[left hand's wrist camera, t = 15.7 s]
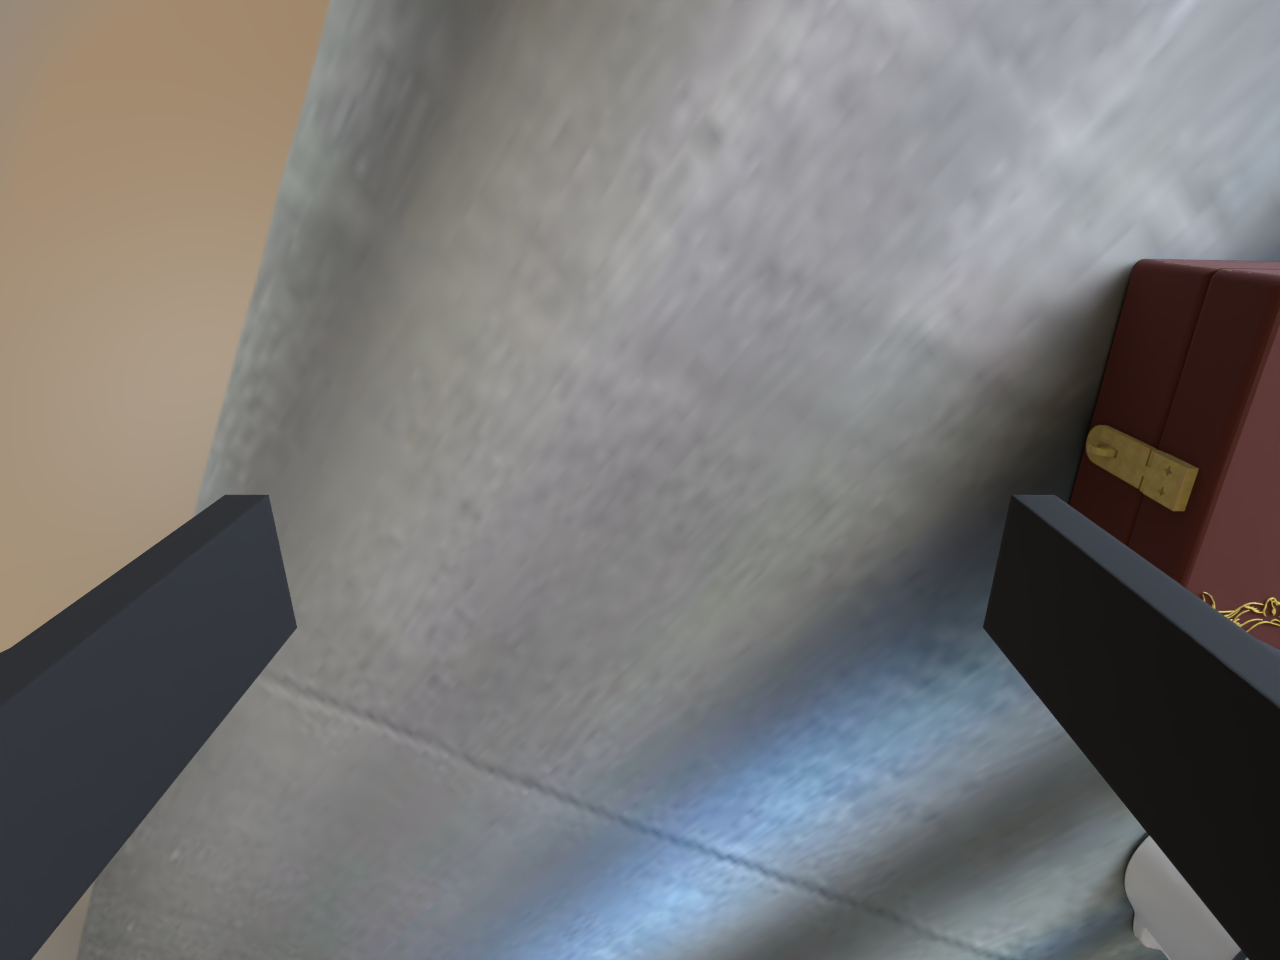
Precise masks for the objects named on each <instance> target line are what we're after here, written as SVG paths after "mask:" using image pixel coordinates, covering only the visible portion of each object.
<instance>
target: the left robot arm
mask: <svg viewBox="0 0 1280 960" xmlns="http://www.w3.org/2000/svg"><path fill="white" fill-rule="evenodd" d="M296 628H297V625H296V621H295V616H294V611H293V607H292V602H291V597H290V593H289V588H288V583H287V579H286V574H285V569H284V565H283V560H282V555H281V551H280V546H279V541H278V537H277V532H276V527H275V523H274V518H273V513H272V509H271V504H270V499H269V495H224V496H223V497H222V498H220V499H219V500H217V501H216V502H215V503H213V504H212V505H210V506H209V507H208V508H206V509H205V510H203V511H202V512H201V513H199V514H198V515H196V516H195V517H194V518H192V519H191V520H189V521H188V522H187V523H185V524H184V525H182V526H181V527H180V528H178V529H177V530H175V531H174V532H172V533H171V534H170V535H168V536H167V537H165V538H164V539H163V540H161V541H160V542H159V543H157V544H156V545H154V546H153V547H151V548H150V549H149V550H147V551H146V552H144V553H143V554H142V555H140V556H139V557H137V558H136V559H135V560H133V561H132V562H130V563H129V564H128V565H126V566H125V567H123V568H122V569H121V570H119V571H118V572H116V573H115V574H114V575H112V576H111V577H109V578H108V579H107V580H105V581H104V582H102V583H101V584H100V585H98V586H97V587H95V588H94V589H93V590H91V591H90V592H88V593H87V594H86V595H84V596H83V597H81V598H80V599H79V600H77V601H76V602H74V603H73V604H72V605H70V606H69V607H67V608H66V609H65V610H63V611H62V612H60V613H59V614H58V615H56V616H55V617H53V618H52V619H50V620H49V621H48V622H46V623H45V624H43V625H42V626H41V627H39V628H38V629H37V630H35V631H34V632H32V633H31V634H29V635H28V636H27V637H25V638H24V639H22V640H21V641H20V642H18V643H17V644H15V645H14V646H13V647H11V648H9V649H7V650H5V651H3V652H1V653H0V960H31V959H32V958H33V957H34V955H35V954H36V953H37V952H38V950H39V949H40V948H41V947H42V945H43V944H44V943H45V942H46V940H47V939H48V938H49V937H50V935H51V934H52V933H53V931H54V930H55V929H56V928H57V927H58V925H59V924H60V923H61V922H62V920H63V919H64V918H65V917H66V915H67V914H68V913H69V912H70V910H71V909H72V908H73V907H74V905H75V904H76V903H77V902H78V900H79V899H80V898H81V897H82V895H83V894H84V893H85V892H86V890H87V889H88V888H89V887H90V885H91V884H92V883H93V882H94V880H95V879H96V878H97V877H98V875H99V874H100V873H101V872H102V870H103V869H104V868H105V867H106V865H107V864H108V863H109V862H110V860H111V859H112V858H113V857H114V855H115V854H116V853H117V852H118V850H119V849H120V848H121V847H122V845H123V844H124V843H125V842H126V840H127V839H128V838H129V837H130V835H131V834H132V833H133V832H134V830H135V829H136V828H137V827H138V825H139V824H140V823H141V822H142V820H143V819H144V818H145V817H146V815H147V814H148V813H149V812H150V810H151V809H152V808H153V807H154V805H155V804H156V803H157V802H158V800H159V799H160V798H161V797H162V795H163V794H164V793H165V792H166V790H167V789H168V788H169V787H170V785H171V784H172V783H173V782H174V780H175V779H176V778H177V777H178V775H179V774H180V773H181V772H182V770H183V769H184V768H185V767H186V765H187V764H188V763H189V762H190V760H191V759H192V758H193V757H194V755H195V754H196V753H197V752H198V750H199V749H200V748H201V747H202V746H203V744H204V743H205V742H206V741H207V739H208V738H209V737H210V736H211V734H212V733H213V732H214V731H215V729H216V728H217V727H218V726H219V724H220V723H221V722H222V721H223V719H224V718H225V717H226V716H227V714H228V713H229V712H230V711H231V709H232V708H233V707H234V706H235V704H236V703H237V702H238V701H239V699H240V698H241V697H242V696H243V694H244V693H245V692H246V691H247V689H248V688H249V687H250V686H251V684H252V683H253V682H254V681H255V679H256V678H257V677H258V676H259V674H260V673H261V672H262V671H263V669H264V668H265V667H266V666H267V664H268V663H269V662H270V661H271V659H272V658H273V657H274V656H275V654H276V653H277V652H278V651H279V649H280V648H281V647H282V646H283V644H284V643H285V642H286V641H287V639H288V638H289V637H290V636H291V634H292V633H293V632H294V631H295V629H296ZM983 628H984V629H985V631H986V632H987V633H988V634H989V636H990V637H991V638H992V639H993V641H994V642H995V643H996V644H997V646H998V647H999V648H1000V649H1001V651H1002V652H1003V653H1004V654H1005V656H1006V657H1007V658H1008V659H1009V661H1010V662H1011V663H1012V664H1013V666H1014V667H1015V668H1016V669H1017V671H1018V672H1019V673H1020V674H1021V676H1022V677H1023V678H1024V679H1025V681H1026V682H1027V683H1028V684H1029V686H1030V687H1031V688H1032V689H1033V691H1034V692H1035V693H1036V694H1037V696H1038V697H1039V698H1040V699H1041V701H1042V702H1043V703H1044V704H1045V706H1046V707H1047V708H1048V709H1049V711H1050V712H1051V713H1052V714H1053V716H1054V717H1055V718H1056V719H1057V721H1058V722H1059V723H1060V724H1061V726H1062V727H1063V728H1064V729H1065V731H1066V732H1067V733H1068V734H1069V736H1070V737H1071V738H1072V739H1073V741H1074V742H1075V743H1076V744H1077V746H1078V747H1079V748H1080V749H1081V750H1082V752H1083V753H1084V754H1085V755H1086V757H1087V758H1088V759H1089V760H1090V762H1091V763H1092V764H1093V765H1094V767H1095V768H1096V769H1097V770H1098V772H1099V773H1100V774H1101V775H1102V777H1103V778H1104V779H1105V780H1106V782H1107V783H1108V784H1109V785H1110V787H1111V788H1112V789H1113V790H1114V792H1115V793H1116V794H1117V795H1118V797H1119V798H1120V799H1121V800H1122V802H1123V803H1124V804H1125V805H1126V807H1127V808H1128V809H1129V810H1130V812H1131V813H1132V814H1133V815H1134V817H1135V818H1136V819H1137V820H1138V822H1139V823H1140V824H1141V825H1142V827H1143V828H1144V829H1145V830H1146V832H1147V833H1148V834H1149V835H1150V837H1151V838H1152V839H1153V840H1154V842H1155V843H1156V844H1157V845H1158V847H1159V848H1160V849H1161V850H1162V852H1163V853H1164V854H1165V855H1166V857H1167V858H1168V859H1169V860H1170V862H1171V863H1172V864H1173V865H1174V867H1175V868H1176V869H1177V870H1178V872H1179V873H1180V874H1181V875H1182V877H1183V878H1184V879H1185V880H1186V882H1187V883H1188V884H1189V885H1190V887H1191V888H1192V889H1193V890H1194V892H1195V893H1196V894H1197V895H1198V897H1199V898H1200V899H1201V900H1202V902H1203V903H1204V904H1205V905H1206V907H1207V908H1208V909H1209V910H1210V912H1211V913H1212V914H1213V915H1214V917H1215V918H1216V919H1217V920H1218V922H1219V923H1220V924H1221V925H1222V927H1223V928H1224V929H1225V930H1226V932H1227V933H1228V934H1229V935H1230V937H1231V938H1232V939H1233V940H1234V942H1235V943H1236V944H1237V945H1238V947H1239V948H1240V949H1241V950H1242V952H1243V953H1244V954H1245V955H1246V957H1247V958H1248V959H1249V960H1280V650H1279V649H1277V648H1275V647H1273V646H1271V645H1269V644H1267V643H1264V642H1262V641H1260V640H1258V639H1256V638H1255V637H1253V636H1252V635H1251V634H1249V633H1248V632H1246V631H1245V630H1244V629H1242V628H1241V627H1239V626H1238V625H1237V624H1235V623H1234V622H1232V621H1231V620H1230V619H1228V618H1227V617H1225V616H1224V615H1223V614H1221V613H1220V612H1218V611H1217V610H1216V609H1214V608H1213V607H1211V606H1210V605H1208V604H1207V603H1206V602H1204V601H1203V600H1201V599H1200V598H1199V597H1197V596H1196V595H1194V594H1193V593H1192V592H1190V591H1189V590H1187V589H1186V588H1185V587H1183V586H1182V585H1180V584H1179V583H1178V582H1176V581H1175V580H1173V579H1172V578H1171V577H1169V576H1168V575H1166V574H1165V573H1164V572H1162V571H1161V570H1159V569H1158V568H1157V567H1155V566H1154V565H1152V564H1151V563H1150V562H1148V561H1147V560H1145V559H1144V558H1143V557H1141V556H1140V555H1138V554H1137V553H1136V552H1134V551H1133V550H1131V549H1130V548H1129V547H1127V546H1126V545H1124V544H1123V543H1122V542H1120V541H1119V540H1117V539H1116V538H1115V537H1113V536H1112V535H1110V534H1109V533H1108V532H1106V531H1105V530H1103V529H1102V528H1100V527H1099V526H1098V525H1096V524H1095V523H1093V522H1092V521H1091V520H1089V519H1088V518H1086V517H1085V516H1084V515H1082V514H1081V513H1079V512H1078V511H1077V510H1075V509H1074V508H1072V507H1071V506H1070V505H1068V504H1067V503H1065V502H1064V501H1063V500H1061V499H1060V498H1058V497H1057V496H1056V495H1011V499H1010V504H1009V509H1008V513H1007V518H1006V523H1005V527H1004V532H1003V537H1002V541H1001V546H1000V551H999V555H998V560H997V565H996V569H995V574H994V579H993V583H992V588H991V593H990V597H989V602H988V607H987V611H986V616H985V621H984V625H983Z"/></svg>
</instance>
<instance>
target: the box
mask: <svg viewBox="0 0 1280 960" xmlns="http://www.w3.org/2000/svg"><path fill="white" fill-rule="evenodd" d="M1069 505H1070V506H1071V507H1072V508H1074V509H1075V510H1077V511H1078V512H1079V513H1081V514H1082V515H1084V516H1085V517H1086V518H1088V519H1089V520H1091V521H1092V522H1093V523H1095V524H1096V525H1098V526H1099V527H1100V528H1102V529H1103V530H1105V531H1106V532H1108V533H1109V534H1110V535H1112V536H1113V537H1115V538H1116V539H1117V540H1119V541H1120V542H1122V543H1123V544H1124V545H1126V546H1127V547H1129V548H1130V549H1131V550H1133V551H1134V552H1136V553H1137V554H1138V555H1140V556H1141V557H1143V558H1144V559H1145V560H1147V561H1148V562H1150V563H1151V564H1152V565H1154V566H1155V567H1157V568H1158V569H1159V570H1161V571H1162V572H1164V573H1165V574H1166V575H1168V576H1169V577H1171V578H1172V579H1173V580H1175V581H1176V582H1178V583H1179V584H1180V585H1182V586H1183V587H1185V588H1186V589H1187V590H1189V591H1190V592H1192V593H1193V594H1194V595H1196V596H1197V597H1199V598H1200V599H1201V600H1203V601H1204V602H1206V603H1207V604H1208V605H1210V606H1211V607H1213V608H1214V609H1216V610H1217V611H1218V612H1220V613H1221V614H1223V615H1224V616H1225V617H1227V618H1228V619H1230V620H1231V621H1232V622H1234V623H1235V624H1237V625H1238V626H1239V627H1241V628H1242V629H1244V630H1245V631H1246V632H1248V633H1249V634H1251V635H1252V636H1253V637H1255V638H1256V639H1258V640H1260V641H1262V642H1264V643H1267V644H1269V645H1271V646H1273V647H1275V648H1277V649H1279V650H1280V262H1275V261H1225V260H1174V259H1142V260H1140V261H1138V262H1137V263H1136V264H1135V265H1134V267H1133V270H1132V274H1131V278H1130V281H1129V285H1128V289H1127V293H1126V296H1125V300H1124V304H1123V307H1122V311H1121V315H1120V319H1119V322H1118V326H1117V330H1116V333H1115V337H1114V341H1113V345H1112V348H1111V352H1110V356H1109V359H1108V363H1107V367H1106V371H1105V374H1104V378H1103V382H1102V385H1101V389H1100V393H1099V396H1098V400H1097V404H1096V408H1095V411H1094V415H1093V419H1092V422H1091V426H1090V430H1089V434H1088V437H1087V441H1086V445H1085V448H1084V452H1083V456H1082V460H1081V463H1080V467H1079V471H1078V474H1077V478H1076V482H1075V486H1074V489H1073V493H1072V497H1071V500H1070V504H1069Z"/></svg>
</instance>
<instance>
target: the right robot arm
mask: <svg viewBox="0 0 1280 960" xmlns="http://www.w3.org/2000/svg"><path fill="white" fill-rule="evenodd" d="M1124 883H1125V891H1126V895H1127V897H1128V899H1129V901H1130V903H1131V905H1132V907H1133V909H1134V912H1135V916H1134V922H1133V933H1134V935H1135V936H1136V937H1137V938H1138V940H1139V941H1140V942H1141V943H1142V944H1143V945H1144V946H1145V947H1148V948H1152V949H1159V950H1162V951H1163V953H1164V954H1165V955H1166V957H1167V958H1168V959H1169V960H1249V959H1248V958H1247V957H1246V955H1245V954H1244V953H1243V952H1242V950H1241V949H1240V948H1239V947H1238V945H1237V944H1236V943H1235V942H1234V940H1233V939H1232V938H1231V937H1230V935H1229V934H1228V933H1227V932H1226V930H1225V929H1224V928H1223V927H1222V925H1221V924H1220V923H1219V922H1218V920H1217V919H1216V918H1215V917H1214V915H1213V914H1212V913H1211V912H1210V910H1209V909H1208V908H1207V907H1206V905H1205V904H1204V903H1203V902H1202V900H1201V899H1200V898H1199V897H1198V895H1197V894H1196V893H1195V892H1194V890H1193V889H1192V888H1191V887H1190V885H1189V884H1188V883H1187V882H1186V880H1185V879H1184V878H1183V877H1182V875H1181V874H1180V873H1179V872H1178V870H1177V869H1176V868H1175V867H1174V865H1173V864H1172V863H1171V862H1170V860H1169V859H1168V858H1167V857H1166V855H1165V854H1164V853H1163V852H1162V850H1161V849H1160V848H1159V847H1158V845H1157V844H1156V843H1155V842H1154V840H1153V839H1152V838H1151V837H1150V835H1149V836H1148V837H1147V838H1146V839H1145V840H1144V841H1143V843H1142V844H1141V845H1140V846H1139V847H1138V849H1137V850H1136V851H1135V853H1134V854H1133V856H1132V858H1131V860H1130V862H1129V864H1128V866H1127V870H1126V873H1125V881H1124Z"/></svg>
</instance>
